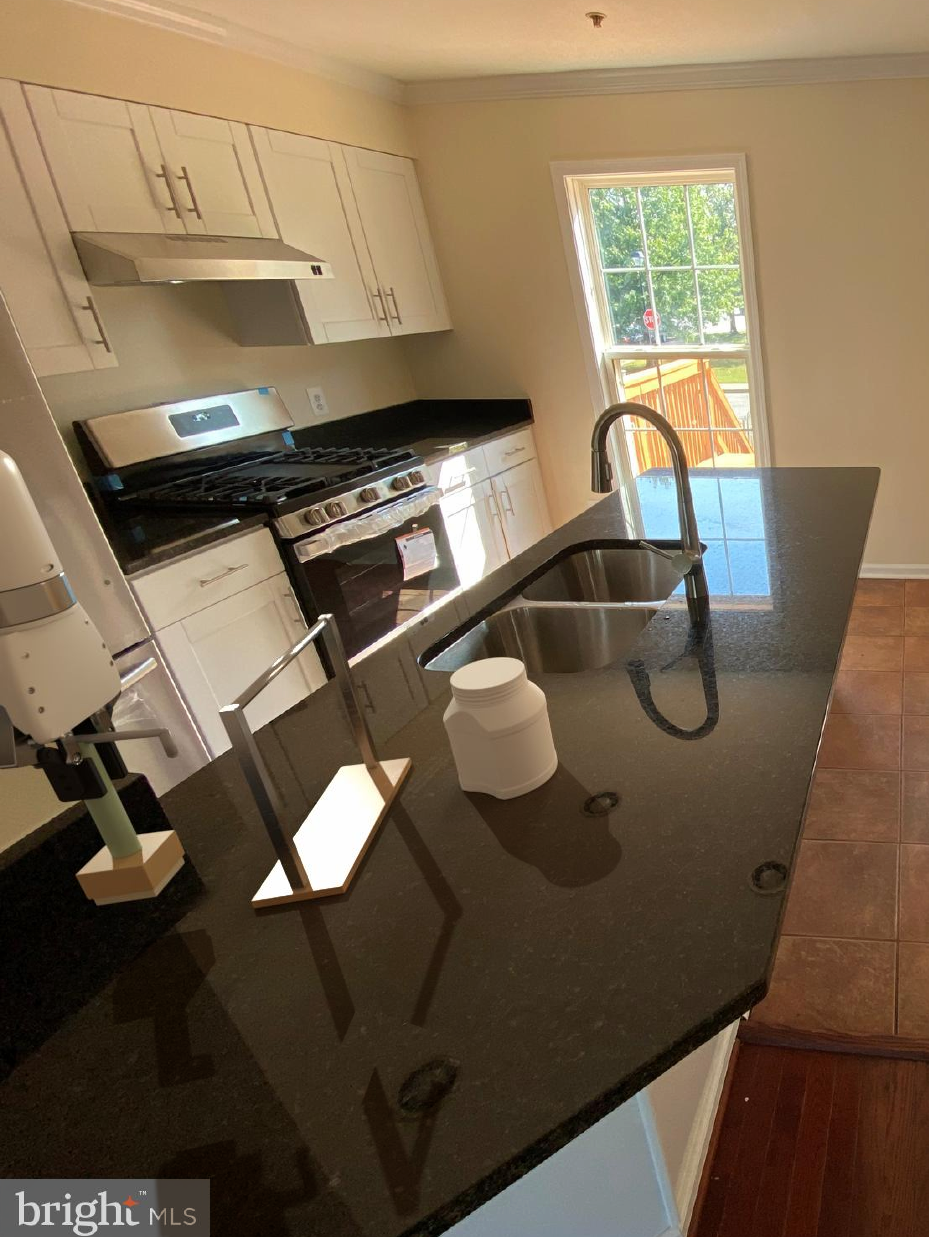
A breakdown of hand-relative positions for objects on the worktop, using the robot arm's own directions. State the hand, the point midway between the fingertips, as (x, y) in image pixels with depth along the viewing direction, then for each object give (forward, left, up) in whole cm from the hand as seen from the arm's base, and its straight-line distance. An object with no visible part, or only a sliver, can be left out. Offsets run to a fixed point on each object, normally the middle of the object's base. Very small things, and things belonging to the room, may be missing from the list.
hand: (95, 787), depth 63 cm
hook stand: (+2, 0, -11) cm, 12 cm away
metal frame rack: (+12, +10, -16) cm, 22 cm away
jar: (+29, +16, -16) cm, 37 cm away
